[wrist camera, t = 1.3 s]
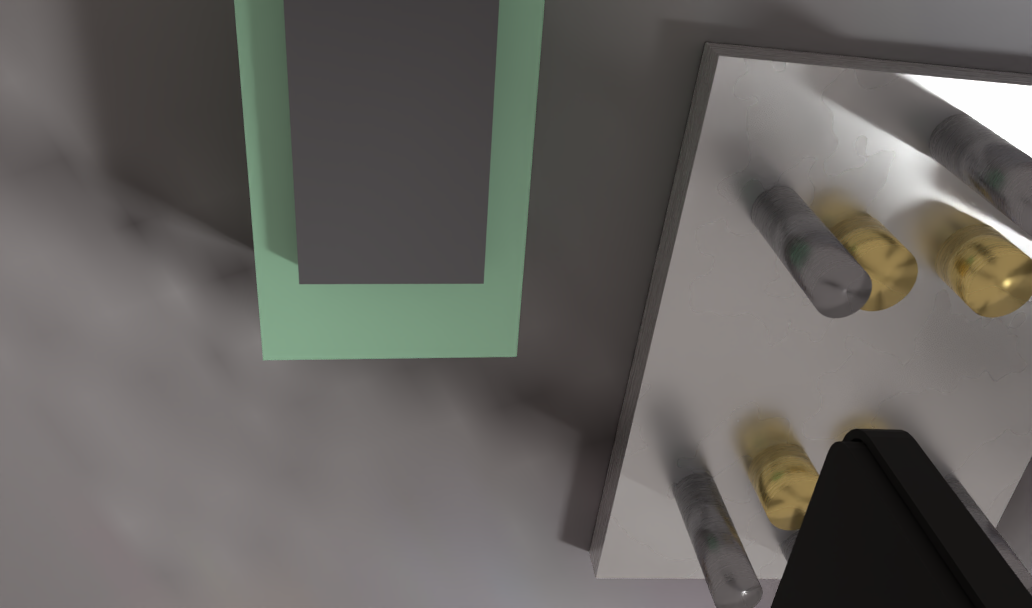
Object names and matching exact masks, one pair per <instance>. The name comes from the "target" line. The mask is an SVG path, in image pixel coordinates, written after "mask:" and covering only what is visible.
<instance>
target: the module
mask: <svg viewBox="0 0 1032 608" xmlns="http://www.w3.org/2000/svg"><path fill="white" fill-rule="evenodd" d="M544 3H545V0H234V7H235V19H236V32H237V44H238V56H239V69H240V81H241V93H242V106H243V118H244V130H245V143H246V155H247V167H248V180H249V192H250V204H251V217H252V229H253V242H254V254H255V266H256V279H257V291H258V303H259V316H260V328H261V340H262V353H263V360H316V359H390V358H463V357H517V347H518V334H519V321H520V308H521V296H522V283H523V270H524V258H525V245H526V232H527V220H528V207H529V194H530V181H531V169H532V156H533V143H534V131H535V118H536V105H537V92H538V80H539V67H540V54H541V42H542V29H543V16H544Z"/></svg>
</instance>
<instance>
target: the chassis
mask: <svg viewBox="0 0 1032 608" xmlns="http://www.w3.org/2000/svg"><path fill="white" fill-rule="evenodd" d="M853 429H898V430H904V431H906V432H908V433H909V434H910V435H911V436H912V437H913V438H914V439H915V440H916V441H917V443H918V444H919V445H920V447H921V448H922V449H923V451H924V452H925V453H926V455H927V456H928V457H929V459H930V460H931V461H932V463H933V464H934V465H935V467H936V468H937V469H938V471H939V472H940V473H941V475H942V476H943V478H944V479H945V480H946V482H947V483H948V484H949V486H950V487H951V488H952V490H953V491H954V492H955V494H956V495H957V496H958V498H959V499H960V500H961V502H962V503H963V504H964V506H965V507H966V508H967V510H968V511H969V512H970V514H971V515H972V516H973V518H974V519H975V520H976V522H977V523H978V524H979V526H980V527H981V528H982V530H983V531H984V532H985V534H986V535H987V536H988V538H989V539H990V540H991V542H992V543H993V544H994V546H995V547H996V548H997V550H998V551H999V553H1000V554H1001V555H1002V557H1003V558H1004V559H1005V561H1006V562H1007V563H1008V565H1009V566H1010V567H1011V569H1012V570H1013V571H1014V573H1015V574H1016V575H1017V577H1018V578H1019V579H1020V581H1021V582H1022V583H1023V585H1024V586H1025V587H1026V589H1027V590H1028V591H1029V593H1030V594H1031V595H1032V576H1031V575H1030V573H1029V572H1028V571H1027V569H1026V568H1025V567H1024V565H1023V564H1022V563H1021V561H1020V560H1019V559H1018V557H1017V556H1016V555H1015V554H1014V552H1013V551H1012V550H1011V548H1010V547H1009V546H1008V544H1007V543H1006V542H1005V540H1004V539H1003V538H1002V536H1001V535H1000V534H999V532H998V531H997V530H996V529H995V528H996V526H997V524H998V522H999V520H1000V518H1001V516H1002V514H1003V512H1004V510H1005V508H1006V506H1007V504H1008V502H1009V500H1010V499H1011V497H1012V495H1013V493H1014V491H1015V489H1016V487H1017V485H1018V483H1019V481H1020V479H1021V477H1022V475H1023V473H1024V471H1025V469H1026V467H1027V465H1028V463H1029V461H1030V459H1031V457H1032V75H1031V74H1021V73H1011V72H1001V71H991V70H980V69H970V68H960V67H950V66H940V65H930V64H920V63H910V62H900V61H890V60H880V59H870V58H860V57H850V56H840V55H830V54H820V53H810V52H800V51H790V50H780V49H770V48H760V47H750V46H740V45H730V44H720V43H710V42H705V46H704V50H703V54H702V59H701V63H700V68H699V72H698V76H697V81H696V85H695V90H694V94H693V98H692V103H691V107H690V111H689V116H688V120H687V125H686V129H685V133H684V138H683V142H682V147H681V151H680V155H679V160H678V164H677V169H676V173H675V177H674V182H673V186H672V191H671V195H670V199H669V204H668V208H667V213H666V217H665V221H664V226H663V230H662V235H661V239H660V243H659V248H658V252H657V257H656V261H655V265H654V270H653V274H652V279H651V283H650V287H649V292H648V296H647V300H646V305H645V309H644V314H643V318H642V322H641V327H640V331H639V336H638V340H637V344H636V349H635V353H634V358H633V362H632V366H631V371H630V375H629V380H628V384H627V388H626V393H625V397H624V402H623V406H622V410H621V415H620V419H619V424H618V428H617V432H616V437H615V441H614V446H613V450H612V454H611V459H610V463H609V468H608V472H607V476H606V481H605V485H604V490H603V494H602V498H601V503H600V507H599V511H598V516H597V520H596V525H595V529H594V533H593V538H592V542H591V547H590V551H589V554H590V558H591V562H592V566H593V570H594V574H595V578H596V579H705V580H706V582H707V585H708V588H709V590H710V593H711V596H712V598H713V601H714V603H715V606H716V608H753V607H755V606H756V605H757V604H758V603H759V601H760V600H761V598H762V594H763V591H762V588H761V585H760V583H759V581H758V579H781V578H782V576H783V573H784V570H785V567H786V565H787V562H788V559H789V557H790V554H791V551H792V548H793V546H794V543H795V540H796V537H797V535H798V532H799V529H800V527H801V524H802V521H803V518H804V516H805V513H806V510H807V507H808V505H809V502H810V499H811V497H812V494H813V491H814V488H815V486H816V483H817V480H818V477H819V475H820V472H821V469H822V467H823V464H824V461H825V458H826V456H827V453H828V451H829V449H830V447H831V445H832V444H834V443H835V442H838V441H843V439H844V437H845V435H846V434H847V433H848V432H849V431H850V430H853Z"/></svg>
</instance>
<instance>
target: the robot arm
mask: <svg viewBox="0 0 1032 608" xmlns="http://www.w3.org/2000/svg"><path fill="white" fill-rule="evenodd" d="M771 608H1032V595H1031V594H1030V593H1029V591H1028V590H1027V589H1026V587H1025V586H1024V585H1023V583H1022V582H1021V581H1020V579H1019V578H1018V577H1017V575H1016V574H1015V573H1014V571H1013V570H1012V569H1011V567H1010V566H1009V565H1008V563H1007V562H1006V561H1005V559H1004V558H1003V557H1002V555H1001V554H1000V553H999V551H998V550H997V548H996V547H995V546H994V544H993V543H992V542H991V540H990V539H989V538H988V536H987V535H986V534H985V532H984V531H983V530H982V528H981V527H980V526H979V524H978V523H977V522H976V520H975V519H974V518H973V516H972V515H971V514H970V512H969V511H968V510H967V508H966V507H965V506H964V504H963V503H962V502H961V500H960V499H959V498H958V496H957V495H956V494H955V492H954V491H953V490H952V488H951V487H950V486H949V484H948V483H947V482H946V480H945V479H944V478H943V476H942V475H941V473H940V472H939V471H938V469H937V468H936V467H935V465H934V464H933V463H932V461H931V460H930V459H929V457H928V456H927V455H926V453H925V452H924V451H923V449H922V448H921V447H920V445H919V444H918V443H917V441H916V440H915V439H914V438H913V437H912V436H911V435H910V434H909V433H908V432H906V431H904V430H898V429H853V430H850V431H849V432H848V433H847V434H846V435H845V437H844V439H843V441H838V442H835V443H834V444H832V445H831V447H830V449H829V451H828V453H827V456H826V458H825V461H824V464H823V467H822V469H821V472H820V475H819V477H818V480H817V483H816V486H815V488H814V491H813V494H812V497H811V499H810V502H809V505H808V507H807V510H806V513H805V516H804V518H803V521H802V524H801V527H800V529H799V532H798V535H797V537H796V540H795V543H794V546H793V548H792V551H791V554H790V557H789V559H788V562H787V565H786V567H785V570H784V573H783V576H782V578H781V581H780V584H779V587H778V589H777V592H776V595H775V597H774V600H773V603H772V606H771Z"/></svg>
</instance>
